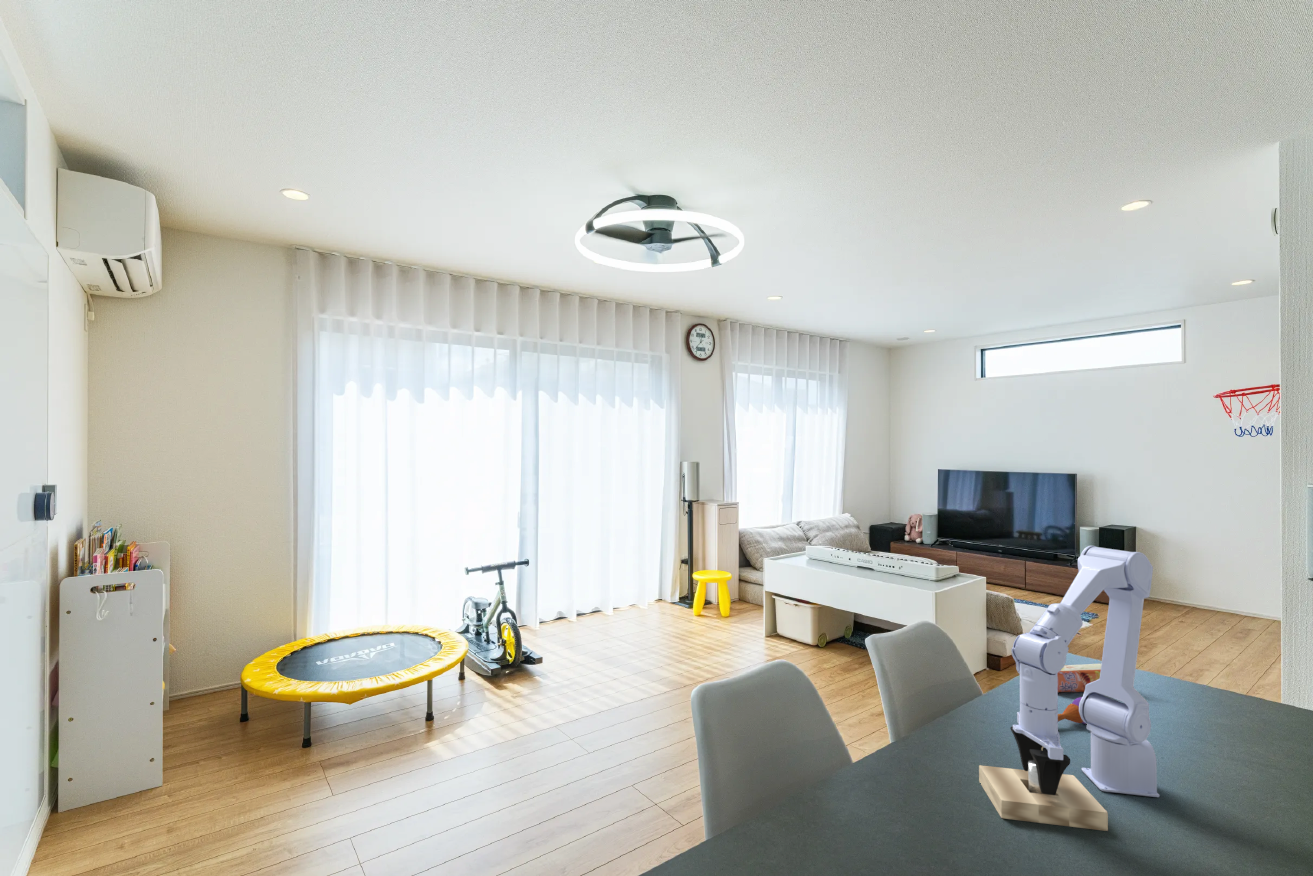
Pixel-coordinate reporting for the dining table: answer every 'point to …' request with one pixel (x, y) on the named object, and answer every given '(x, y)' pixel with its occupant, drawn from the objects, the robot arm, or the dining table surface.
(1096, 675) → the snack package
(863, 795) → the dining table surface
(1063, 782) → the hole block
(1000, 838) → the dining table surface
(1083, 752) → the dining table surface
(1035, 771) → the long pin
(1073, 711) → the maraca
